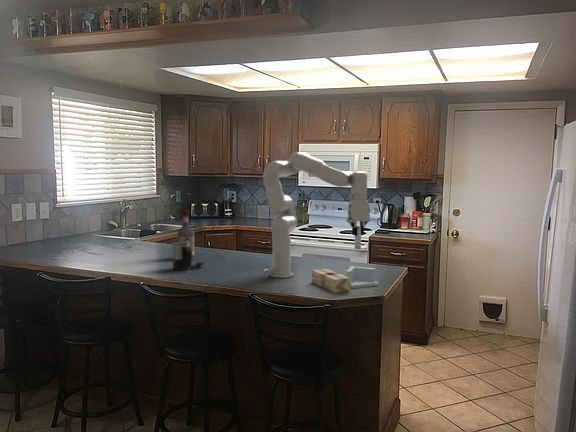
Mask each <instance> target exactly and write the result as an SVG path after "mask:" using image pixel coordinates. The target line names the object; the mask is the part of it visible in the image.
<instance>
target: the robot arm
mask: <svg viewBox="0 0 576 432" xmlns="http://www.w3.org/2000/svg"><path fill="white" fill-rule="evenodd" d="M300 172H303V173H306V174H308V175H311V176H314V177H315V178H317V179H319V180H321V181H323V182H325V183H328V184H330V185H332V186H335V187H338V188H342V187H345V188H346V187H351V188H350V194H349V195H348V198H349V199H350V200H349V203H348V207H347V208H348V209H347V218H346V221H345V222H346V223H348V224H349V225H350V226H351V232H352V233H351V234H352V236H354V237H355V236H357V227H356V226H358V225H357V223H358V222H359V226H361V236H364V233H365V227H366V226H367V224H368V223H370V222H371V218H370V217H371V214H370V213H371V212H370V203H369V200H368V197H367V195H368V174H367V172H365V171H353V172H352V171H348V170H347V171H346V170H339V169H336V168H334V167H331V166H329V165H327V164H326V163H325V162H324V161H323V160H322V159H320V158H316V157H314V156H311V155H310V154H309V153H307V152H305V151H295V152H293V153H292V154H291V155H290V157H289V158H288V159H285V160H272V161H271V162H269V163H268V164H267V165H266V166H265V168H264V170H263V173H262V178H263V183H264V184H263V185H264V186H265V187H264V188H265V192H266V196H267V201H268V207H269V209H270V211H271V212H272V213H274V214H278V215H277V216H276V217H274V218H273V220H272V221H271V224H270V225H271V226H270V228H271V236H272V237H271V238H272V266H270V268H264V269H263V273H264V274H266V273H267V274H269V276H270V277H272V278H276V279H277V278H278V279H279V278H281V279H285V278H292V277H293V276H294V272H292V271H291V267H292V264H291V263H292V262H291V261H292V259H291V257H292V253H291V251H292V250H291V247H292V241H291V239H292V238H291V234H290V232H293V231H294V230H295V229H296V228H297V226H298V219H297V214H296V210H295V204H294V202H293V199H292V198H291V197H290V195H288V194H285V193H284V190H283V185H282V183H281V181H280V178H286V177H289V176H292V175H294V174H297V173H300Z"/></svg>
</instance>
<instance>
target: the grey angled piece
mask: <svg viewBox="0 0 576 432" xmlns="http://www.w3.org/2000/svg"><path fill="white" fill-rule="evenodd" d="M345 276H346V277H349V278H350V289H360V288H369V287H378V286H380V282H379V281H376V268H374V267H365V266H364V267H363V266H353V265H352V266H349V267H348V269H347V270H346V271H345Z"/></svg>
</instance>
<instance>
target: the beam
mask: <svg viewBox="0 0 576 432" xmlns="http://www.w3.org/2000/svg"><path fill="white" fill-rule="evenodd" d="M311 270H312V271H311V282H312V283H313V284H316V285H317V286H320V287H322V288H323V289H325V290H326V289H327V290H328V291H330V292H332V293H343V292H349V291H351V290H350V289H351V288H350V278H349V277H346V275H344V274H341V273H338V272H335V271H333V270H330V269H327V268H320V269H311Z"/></svg>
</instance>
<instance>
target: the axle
mask: <svg viewBox="0 0 576 432" xmlns="http://www.w3.org/2000/svg"><path fill="white" fill-rule="evenodd" d="M356 227H357V236H355V235H354V249H355V250H361V249H362V235H361V226H360V225H356Z"/></svg>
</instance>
